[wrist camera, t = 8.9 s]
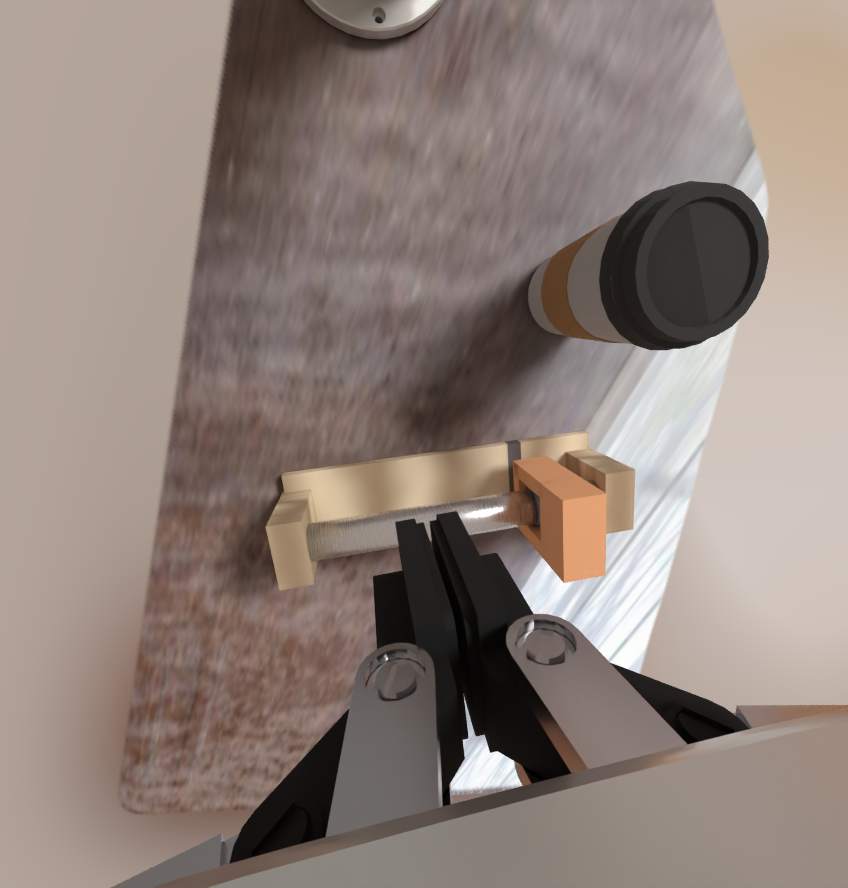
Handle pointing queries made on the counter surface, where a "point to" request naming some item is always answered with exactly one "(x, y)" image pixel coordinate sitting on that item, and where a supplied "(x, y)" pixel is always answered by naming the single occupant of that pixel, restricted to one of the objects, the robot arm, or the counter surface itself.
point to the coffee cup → (658, 271)
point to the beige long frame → (428, 490)
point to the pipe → (381, 528)
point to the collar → (565, 518)
